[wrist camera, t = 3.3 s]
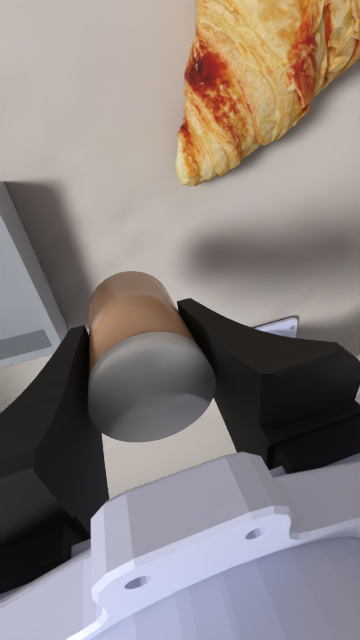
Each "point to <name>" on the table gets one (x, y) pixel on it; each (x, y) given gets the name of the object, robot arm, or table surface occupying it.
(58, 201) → the table surface
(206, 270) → the table surface
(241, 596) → the robot arm
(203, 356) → the shaker
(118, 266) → the table surface
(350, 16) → the croissant
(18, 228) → the bin
